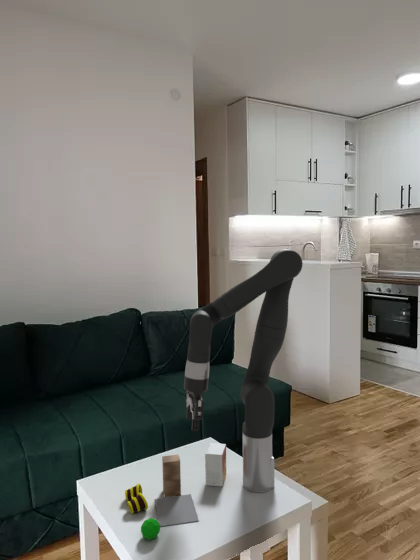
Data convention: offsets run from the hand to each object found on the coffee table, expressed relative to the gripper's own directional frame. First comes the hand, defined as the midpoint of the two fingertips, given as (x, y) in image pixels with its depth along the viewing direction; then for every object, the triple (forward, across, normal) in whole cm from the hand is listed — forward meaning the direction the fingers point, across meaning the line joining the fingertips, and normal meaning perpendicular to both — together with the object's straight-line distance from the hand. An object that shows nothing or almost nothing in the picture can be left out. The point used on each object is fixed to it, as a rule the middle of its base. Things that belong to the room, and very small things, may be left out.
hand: (192, 424), depth 138 cm
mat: (+20, -12, +6) cm, 24 cm away
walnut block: (+20, -3, +5) cm, 21 cm away
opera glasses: (+22, -7, +16) cm, 28 cm away
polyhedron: (+21, -22, +14) cm, 33 cm away
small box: (+19, 0, -10) cm, 21 cm away
